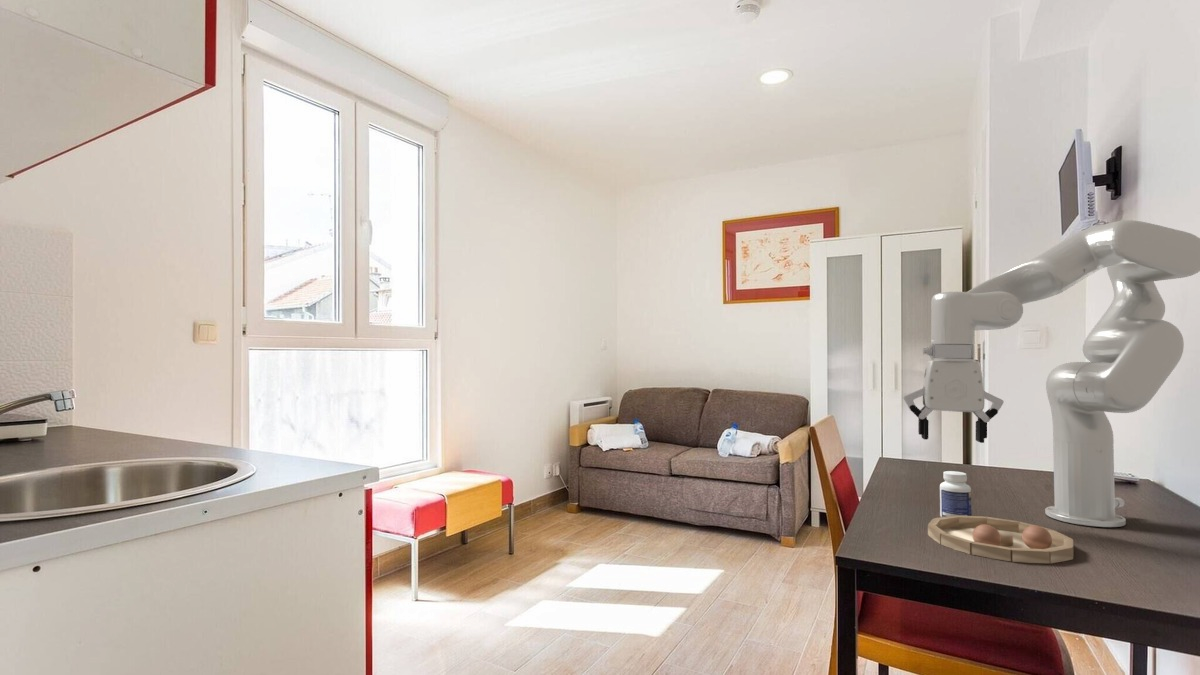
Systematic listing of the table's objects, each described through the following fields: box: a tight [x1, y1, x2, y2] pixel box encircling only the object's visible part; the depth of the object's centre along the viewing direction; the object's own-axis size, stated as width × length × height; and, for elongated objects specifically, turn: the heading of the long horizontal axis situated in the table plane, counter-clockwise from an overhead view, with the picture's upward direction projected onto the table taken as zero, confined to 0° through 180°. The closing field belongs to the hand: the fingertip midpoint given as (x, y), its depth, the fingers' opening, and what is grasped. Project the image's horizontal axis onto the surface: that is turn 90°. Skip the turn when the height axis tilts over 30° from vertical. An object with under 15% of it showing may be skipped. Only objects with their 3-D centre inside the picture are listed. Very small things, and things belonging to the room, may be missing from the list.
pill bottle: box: [939, 470, 973, 517], centre depth 119 cm, size 5×5×10 cm
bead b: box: [1022, 524, 1052, 549], centre depth 99 cm, size 4×4×4 cm
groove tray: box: [927, 515, 1074, 564], centre depth 103 cm, size 20×20×3 cm
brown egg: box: [972, 524, 1001, 546], centre depth 99 cm, size 4×4×4 cm
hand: (952, 440), depth 119 cm, fingers open, 9 cm apart
